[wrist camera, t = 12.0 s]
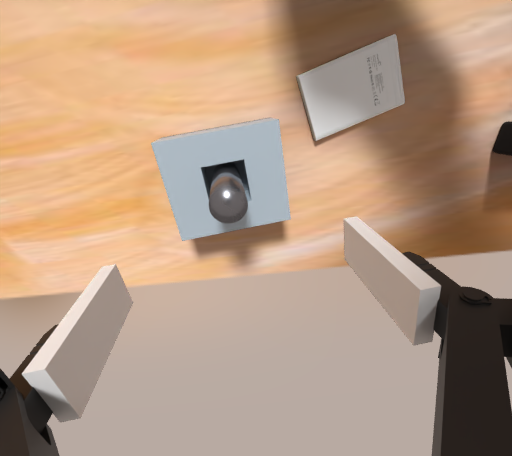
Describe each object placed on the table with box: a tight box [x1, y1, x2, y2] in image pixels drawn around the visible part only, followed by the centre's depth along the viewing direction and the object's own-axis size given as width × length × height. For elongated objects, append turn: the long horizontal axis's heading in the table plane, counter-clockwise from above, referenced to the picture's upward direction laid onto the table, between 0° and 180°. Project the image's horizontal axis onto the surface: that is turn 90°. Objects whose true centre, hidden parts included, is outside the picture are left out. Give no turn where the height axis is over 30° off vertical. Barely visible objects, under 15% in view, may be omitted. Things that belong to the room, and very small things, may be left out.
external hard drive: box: [296, 34, 405, 141], centre depth 34 cm, size 2×8×12 cm
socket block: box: [151, 118, 291, 241], centre depth 34 cm, size 12×14×6 cm
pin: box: [209, 162, 248, 224], centre depth 30 cm, size 4×4×12 cm
